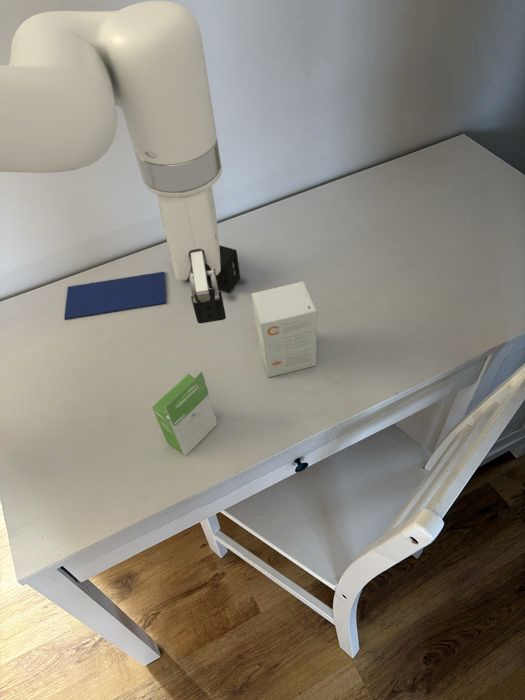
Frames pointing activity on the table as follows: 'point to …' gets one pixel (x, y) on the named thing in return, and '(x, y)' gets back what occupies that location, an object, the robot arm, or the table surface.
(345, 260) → the table surface
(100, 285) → the cloth
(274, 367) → the small box
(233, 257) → the digital camera
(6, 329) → the table surface
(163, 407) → the ink box
